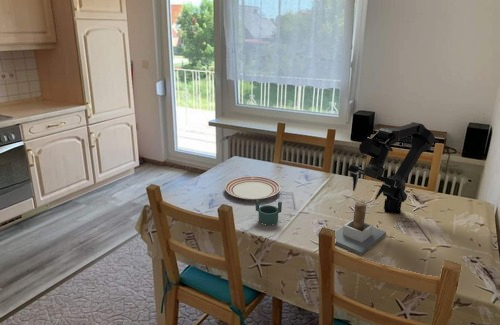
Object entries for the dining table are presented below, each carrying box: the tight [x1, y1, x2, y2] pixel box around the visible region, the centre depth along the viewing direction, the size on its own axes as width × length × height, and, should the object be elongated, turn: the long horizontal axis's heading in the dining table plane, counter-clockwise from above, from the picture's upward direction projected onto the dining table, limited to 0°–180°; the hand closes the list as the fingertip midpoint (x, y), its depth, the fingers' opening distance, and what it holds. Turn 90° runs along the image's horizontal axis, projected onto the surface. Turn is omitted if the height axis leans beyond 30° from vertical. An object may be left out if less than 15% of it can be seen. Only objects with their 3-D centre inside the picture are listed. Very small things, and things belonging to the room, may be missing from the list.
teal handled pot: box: [255, 199, 283, 226], centre depth 150 cm, size 9×9×9 cm
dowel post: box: [352, 202, 367, 231], centre depth 137 cm, size 4×4×12 cm
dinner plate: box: [224, 175, 282, 201], centre depth 179 cm, size 27×27×3 cm
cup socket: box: [334, 218, 387, 256], centre depth 138 cm, size 20×14×5 cm
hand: (364, 195), depth 147 cm, fingers open, 9 cm apart
